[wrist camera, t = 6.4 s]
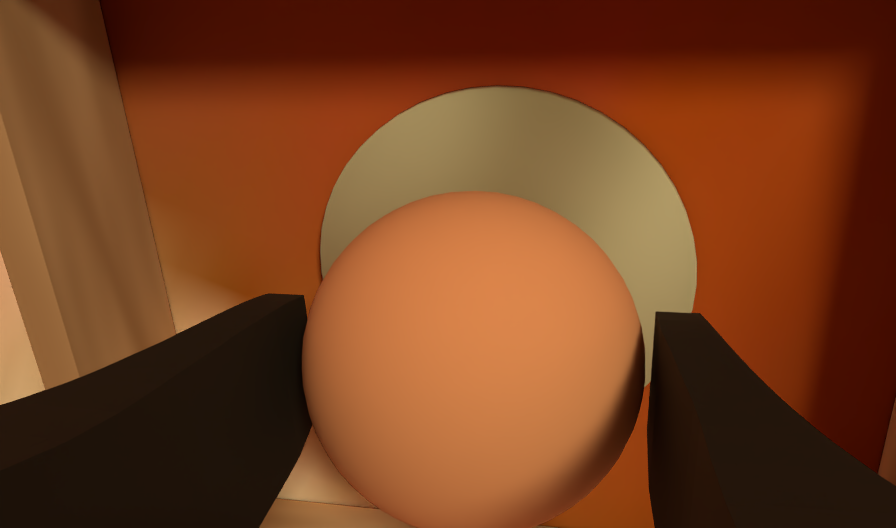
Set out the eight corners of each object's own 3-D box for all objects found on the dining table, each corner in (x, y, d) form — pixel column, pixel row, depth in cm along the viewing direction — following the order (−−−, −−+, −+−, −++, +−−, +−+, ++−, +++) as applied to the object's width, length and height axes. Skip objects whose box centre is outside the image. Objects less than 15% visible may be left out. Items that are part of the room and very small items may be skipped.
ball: (643, 149, 12) (680, 289, 8) (625, 409, 14) (647, 639, 10) (341, 148, 13) (213, 273, 8) (367, 394, 15) (275, 600, 10)
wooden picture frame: (1103, -195, 10) (1286, -234, 7) (893, 592, 16) (951, 732, 13) (31, -114, 13) (-121, -122, 10) (188, 513, 19) (117, 613, 16)
